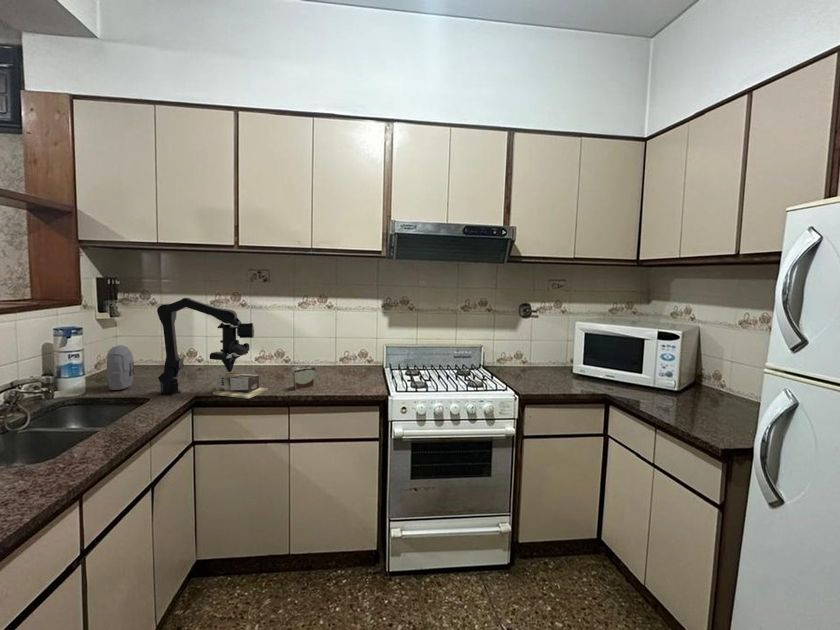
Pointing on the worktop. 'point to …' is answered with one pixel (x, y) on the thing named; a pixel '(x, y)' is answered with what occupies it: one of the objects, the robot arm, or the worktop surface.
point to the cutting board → (240, 393)
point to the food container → (303, 376)
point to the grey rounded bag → (120, 368)
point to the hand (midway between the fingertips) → (229, 371)
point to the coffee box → (237, 382)
